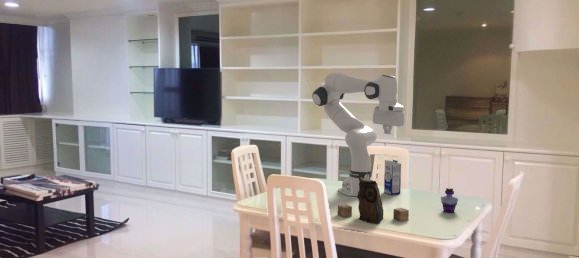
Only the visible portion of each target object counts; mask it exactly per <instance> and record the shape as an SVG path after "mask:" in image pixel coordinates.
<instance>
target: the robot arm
mask: <svg viewBox="0 0 579 258" xmlns="http://www.w3.org/2000/svg"><path fill="white" fill-rule="evenodd" d="M397 81H398V79H397V77H396V76H395V75H391V74H381V75H380V76H379V77H377V79H374V80H371V81H370V80H365V79H362V78H360V77H356V76H354V75H351V74H347V73H342V72H330V73H328V74H327V75H326V76H325V79H324V84H323V85H322V86H319V87H317V88H316V89H315V90H314V91H312V95H311V96H312V97H311V98H312V101H313V102H314V103H315V105H317V106H318V107H323V110H324V112H325V113H326V115H327V117H328V118H329V119H330V120H331V121H332V123H334V124H335V125H336V127H338V129H340V131H342V132H343V133H346V135H345V138H344V139H345V144H346V145H347V146H348V148H349V151H350V157H351V158H350V159H351V160H350V161H351V169H350V170H348V172H349V175H348V177H346V178H345V179H344V180H343V181H342V183H341V187H340V188H338V189H337V191H338V192H340V193H342V194H343V195H345V196H347V197H357V196H358V192H359V177H361V178H364V179H370V180H373V179H372V178H371V177H372V170H371V160H372V159H371V156H370V153H369V152H368V146H371V145H372V144H374V143H375V142H376V141H377V137H378V136H377V135H378V134H377V132H376V130H375V129H373V128H371V127H369V126H368V125H366V124H365V123H364V122H363V121H361V120H360V119H358V118H356V116H354V115H353V114H352V113H351V112H350V111H349V109H347V108H346V107H345V106H344V105H343V104H342V103H341V100H343V99H344V95H345V94H356V93H363V94H364V95H365V98H366V99H368V100H372V101H377V100H378V101H379V102H378V105H379V106H378V105H377V106H376V107H374V110H373V114H372V124H375V125H382V129H383V131H384V132H383V133H384V135H391V134H392V133H391V132H392V129H393V127H403V126H404V123H405V114H404V111H405V107H404V106H403V105H401V104H400V103H398V98H397V94H398V82H397Z"/></svg>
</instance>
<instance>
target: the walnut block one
mask: <svg viewBox="0 0 579 258" xmlns="http://www.w3.org/2000/svg"><path fill="white" fill-rule="evenodd" d="M352 210H353V206H352V205H349V204H345V203H344V204H340V205H337V216H338V217H341V218H343V219H345V218H350V217H351V218H352V217H353V211H352Z"/></svg>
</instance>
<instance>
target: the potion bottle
mask: <svg viewBox="0 0 579 258" xmlns="http://www.w3.org/2000/svg"><path fill="white" fill-rule="evenodd" d="M444 194H445V196H441V197H440V200H441V204H442V211H443V212H444V213H446V214H447V213H448V214H453V213H455V211H456V210H455V209H456V206H457V205H458V201H459V198H458V197H455V196H453V195H455V191H454V188H453V187H446V188H445V190H444Z"/></svg>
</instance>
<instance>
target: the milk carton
mask: <svg viewBox="0 0 579 258" xmlns="http://www.w3.org/2000/svg"><path fill="white" fill-rule="evenodd" d="M383 175H384V178H383V179H384V180H383V181H384V182H383V185H384V186H383V193H385V194H387V195H390V196H395V195H400V194H401V183H402V181H401V176H402V163H399V160H396V159H392V160H387V159H384V173H383Z"/></svg>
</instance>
